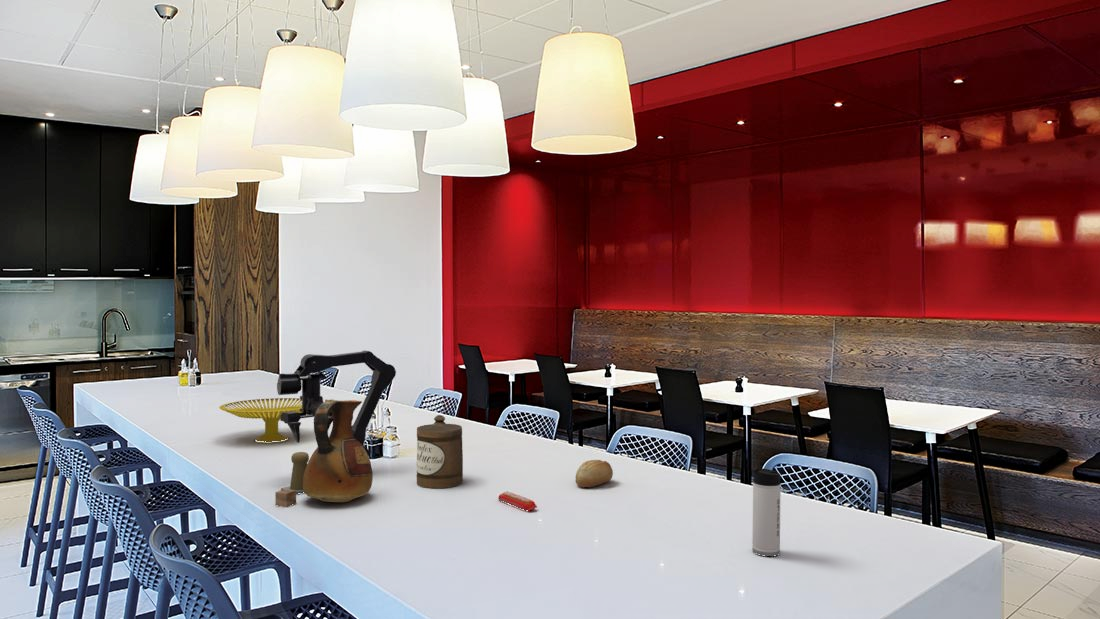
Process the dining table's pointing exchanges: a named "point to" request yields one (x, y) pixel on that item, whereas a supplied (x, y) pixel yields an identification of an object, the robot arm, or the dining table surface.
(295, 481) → the cork
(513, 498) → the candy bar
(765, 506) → the travel mug
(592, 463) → the bread roll
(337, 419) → the ceramic pitcher
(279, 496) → the walnut block
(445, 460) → the wooden container
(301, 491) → the coaster
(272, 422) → the cake stand
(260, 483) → the dining table surface
